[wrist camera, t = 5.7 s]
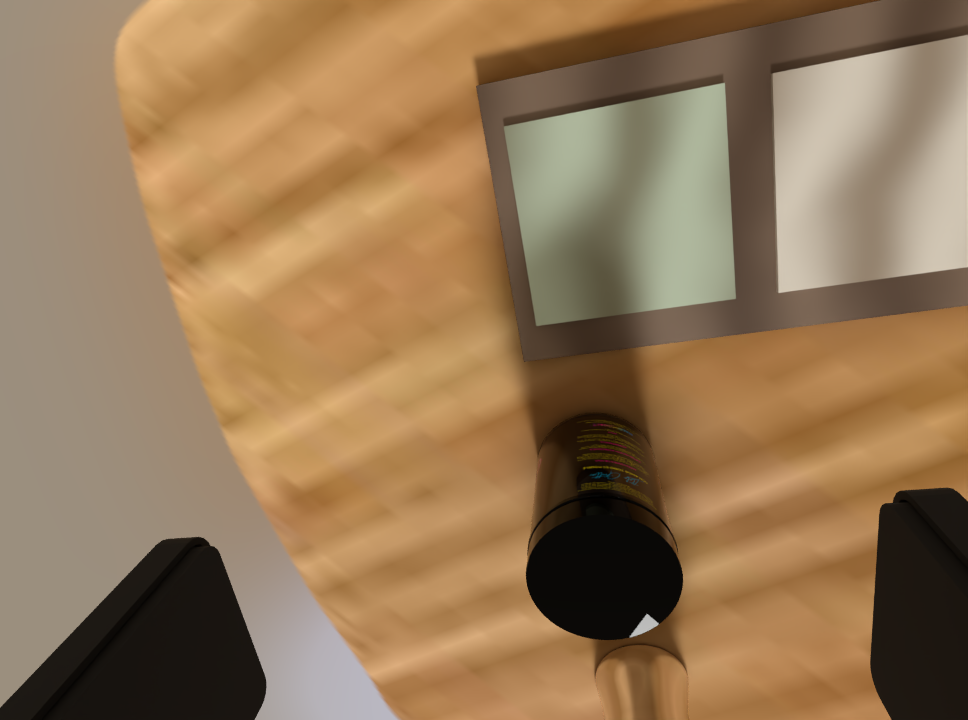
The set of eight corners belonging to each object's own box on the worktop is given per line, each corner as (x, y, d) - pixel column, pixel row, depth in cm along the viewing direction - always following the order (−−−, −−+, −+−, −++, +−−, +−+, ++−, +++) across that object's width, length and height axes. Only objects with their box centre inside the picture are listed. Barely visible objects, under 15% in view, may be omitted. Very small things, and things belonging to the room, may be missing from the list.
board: (1043, -33, 26) (1066, -40, 25) (1010, 292, 31) (1028, 299, 29) (479, 86, 30) (475, 85, 29) (525, 355, 35) (523, 363, 34)
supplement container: (528, 413, 36) (513, 521, 27) (648, 400, 35) (676, 507, 25) (546, 512, 39) (537, 643, 29) (659, 502, 37) (689, 637, 28)
